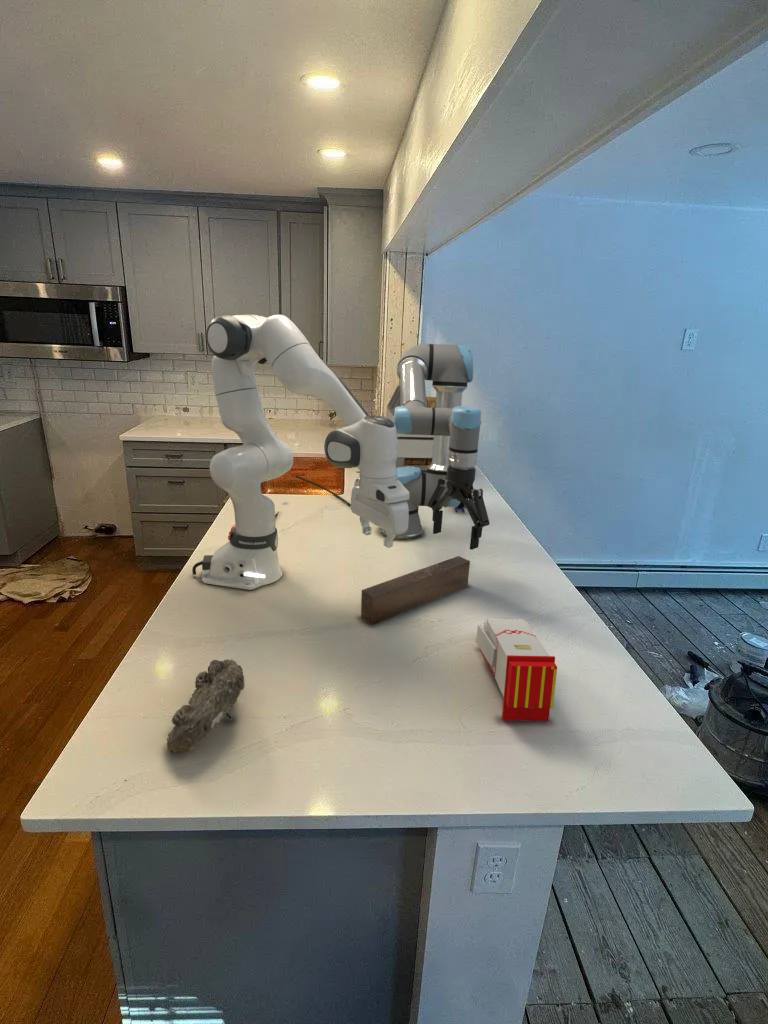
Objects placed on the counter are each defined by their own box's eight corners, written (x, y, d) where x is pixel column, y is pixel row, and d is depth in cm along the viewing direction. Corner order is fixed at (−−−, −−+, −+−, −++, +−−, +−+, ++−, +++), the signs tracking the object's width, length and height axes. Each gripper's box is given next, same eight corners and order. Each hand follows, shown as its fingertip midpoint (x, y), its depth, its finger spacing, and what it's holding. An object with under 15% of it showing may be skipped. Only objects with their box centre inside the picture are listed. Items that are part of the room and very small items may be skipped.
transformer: (382, 463, 289) (386, 382, 275) (445, 464, 293) (451, 384, 279) (390, 482, 257) (394, 392, 243) (460, 483, 261) (468, 394, 247)
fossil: (192, 660, 117) (244, 628, 112) (224, 691, 120) (276, 661, 115) (142, 746, 98) (202, 712, 93) (182, 779, 101) (242, 748, 96)
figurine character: (469, 517, 223) (463, 501, 236) (471, 500, 219) (465, 484, 233) (452, 516, 222) (447, 500, 236) (454, 499, 219) (449, 483, 232)
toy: (523, 604, 135) (566, 662, 106) (518, 656, 138) (559, 727, 109) (472, 603, 135) (501, 661, 105) (468, 655, 138) (496, 726, 108)
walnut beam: (360, 618, 145) (361, 590, 142) (456, 580, 167) (458, 555, 165) (371, 625, 142) (372, 597, 139) (467, 586, 164) (470, 561, 161)
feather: (286, 506, 225) (288, 502, 225) (268, 529, 199) (271, 525, 198) (282, 503, 225) (284, 499, 225) (264, 526, 199) (267, 522, 198)
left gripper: (344, 477, 140) (344, 529, 145) (391, 499, 124) (389, 557, 129) (366, 474, 144) (365, 525, 148) (414, 494, 128) (412, 551, 132)
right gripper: (418, 458, 156) (413, 529, 163) (490, 479, 139) (481, 558, 146) (436, 454, 161) (431, 524, 168) (508, 474, 144) (499, 551, 151)
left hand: (377, 540), depth 138 cm, fingers open, 8 cm apart
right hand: (454, 540), depth 157 cm, fingers open, 13 cm apart
